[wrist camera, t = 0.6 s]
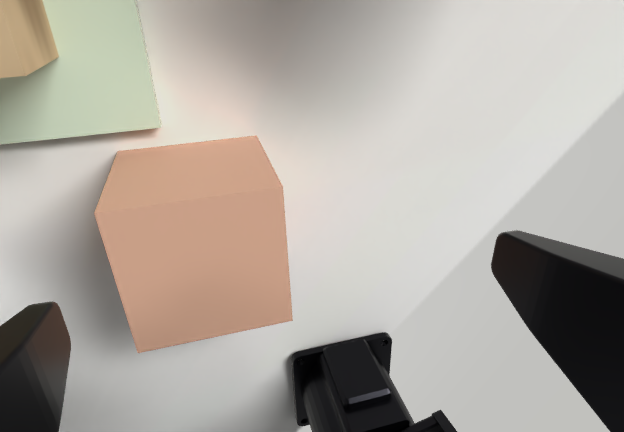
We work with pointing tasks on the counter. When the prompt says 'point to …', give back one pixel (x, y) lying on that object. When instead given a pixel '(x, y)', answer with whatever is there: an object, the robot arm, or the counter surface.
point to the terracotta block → (196, 240)
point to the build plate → (84, 77)
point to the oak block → (24, 38)
